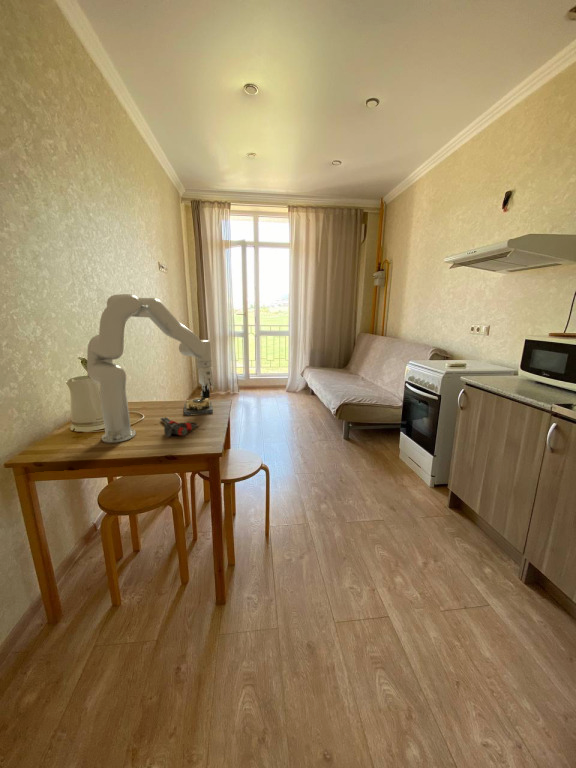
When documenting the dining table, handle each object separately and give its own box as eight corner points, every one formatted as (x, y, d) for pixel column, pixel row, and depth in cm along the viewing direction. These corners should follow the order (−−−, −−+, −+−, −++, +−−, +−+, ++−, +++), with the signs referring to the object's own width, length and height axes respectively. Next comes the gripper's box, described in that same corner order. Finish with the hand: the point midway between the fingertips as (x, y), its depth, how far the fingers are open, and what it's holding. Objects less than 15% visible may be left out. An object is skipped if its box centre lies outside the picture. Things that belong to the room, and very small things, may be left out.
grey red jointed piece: (205, 437, 134) (171, 441, 124) (182, 422, 153) (151, 425, 144) (206, 423, 133) (171, 426, 123) (183, 410, 153) (152, 412, 143)
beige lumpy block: (211, 408, 158) (210, 396, 157) (187, 410, 154) (186, 398, 152) (208, 401, 170) (207, 389, 168) (185, 403, 165) (184, 391, 164)
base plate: (212, 413, 157) (212, 409, 157) (184, 415, 153) (184, 412, 153) (211, 404, 171) (210, 400, 171) (184, 406, 167) (184, 403, 167)
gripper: (216, 365, 154) (218, 400, 159) (206, 361, 166) (208, 393, 171) (201, 367, 150) (204, 402, 154) (192, 362, 162) (194, 395, 166)
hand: (206, 397), depth 163 cm, fingers closed
